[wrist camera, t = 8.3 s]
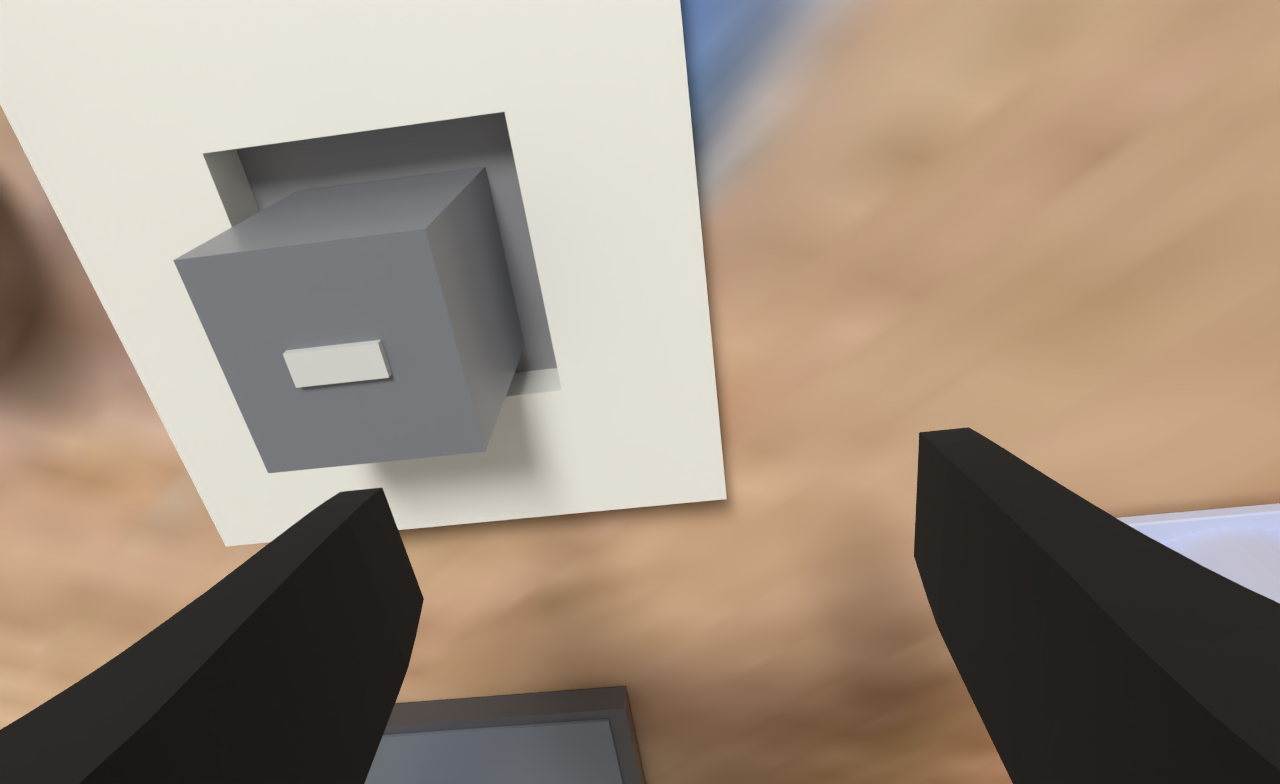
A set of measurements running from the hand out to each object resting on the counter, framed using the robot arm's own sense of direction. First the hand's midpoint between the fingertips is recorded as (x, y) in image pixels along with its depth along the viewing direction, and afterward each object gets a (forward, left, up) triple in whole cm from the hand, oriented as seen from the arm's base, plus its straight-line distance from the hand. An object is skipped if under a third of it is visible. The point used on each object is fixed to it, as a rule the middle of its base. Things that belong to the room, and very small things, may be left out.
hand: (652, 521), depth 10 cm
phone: (+9, +18, -10) cm, 22 cm away
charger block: (+6, -1, -9) cm, 11 cm away
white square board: (+6, -1, -10) cm, 11 cm away
